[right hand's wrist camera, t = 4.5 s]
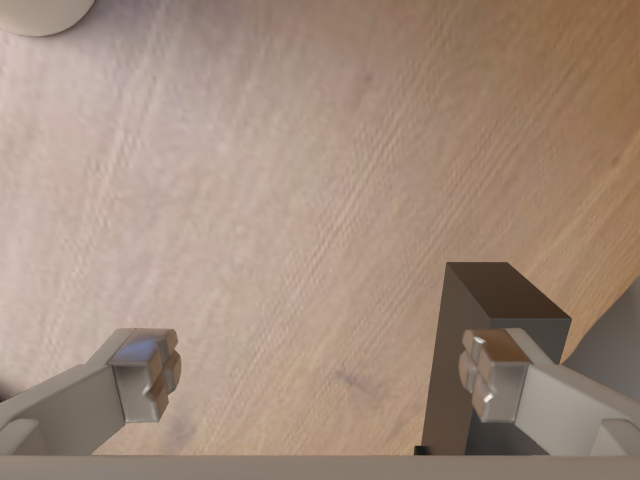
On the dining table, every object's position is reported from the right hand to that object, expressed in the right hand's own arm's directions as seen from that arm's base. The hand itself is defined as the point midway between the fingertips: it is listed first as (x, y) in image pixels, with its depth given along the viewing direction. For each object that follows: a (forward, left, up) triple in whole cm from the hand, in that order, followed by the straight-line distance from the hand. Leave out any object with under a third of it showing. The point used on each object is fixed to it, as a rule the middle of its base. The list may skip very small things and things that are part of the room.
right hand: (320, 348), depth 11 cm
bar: (+17, +12, -18) cm, 28 cm away
